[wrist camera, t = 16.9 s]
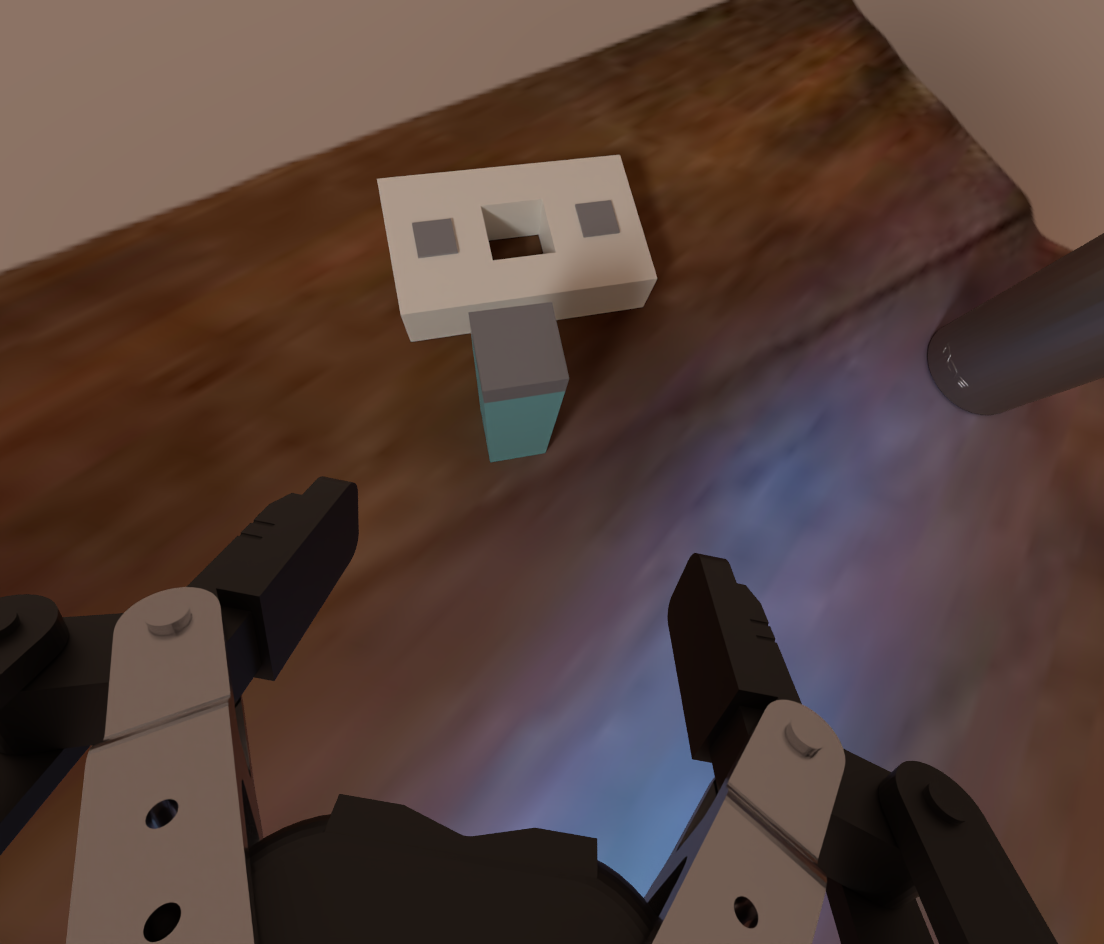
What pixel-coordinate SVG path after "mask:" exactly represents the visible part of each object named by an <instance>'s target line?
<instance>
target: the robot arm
mask: <svg viewBox="0 0 1104 944" xmlns="http://www.w3.org/2000/svg"><path fill="white" fill-rule="evenodd" d="M928 366H929V369H930V372H931V375H932V377H933V379H934V381H935V383H936V385H937V386H938V388H939V389H940V390H941V392H942V393H943V394H944V395H945V396H946V397H947V398H948V399H949V400H950V401H951V402H953V403H954V404H956V405H957V406H959V407H960V408H962V409H964V410H966V411H969V412H971V413H975V414H980V415H994V414H998V413H1002V412H1005V411H1008V410H1011V409H1013V408H1016V407H1019V406H1022V405H1025V404H1028V403H1031V402H1034V401H1037V400H1039V399H1042V398H1045V397H1049V396H1052V395H1054V394H1057V393H1060V392H1063V391H1066V390H1069V389H1072V388H1075V387H1077V386H1080V385H1083V384H1086V383H1089V382H1092V381H1095V380H1098V379H1100V378H1103V377H1104V233H1103V234H1102V235H1100V236H1098V237H1096V238H1095V239H1093V240H1091V241H1089V242H1088V243H1086V244H1084V245H1083V246H1081V247H1079V248H1077V249H1076V250H1074V251H1072V252H1071V253H1069V254H1067V255H1066V256H1064V257H1062V258H1060V259H1059V260H1057V261H1055V262H1054V263H1052V264H1050V265H1048V266H1047V267H1045V268H1043V269H1042V270H1040V271H1038V272H1036V273H1035V274H1033V275H1031V276H1030V277H1028V278H1026V279H1024V280H1023V281H1021V282H1019V283H1018V284H1016V285H1014V286H1012V287H1011V288H1009V289H1007V290H1006V291H1004V292H1002V293H1000V294H999V295H997V296H995V297H994V298H992V299H990V300H988V301H987V302H985V303H983V304H981V305H980V306H978V307H976V308H974V309H973V310H971V311H969V312H968V313H966V314H964V315H963V316H961V317H959V318H957V319H956V320H954V321H952V322H951V323H949V324H947V325H945V326H944V327H942V328H941V329H940V330H939V331H937V332H936V334H935V335H934V336H933V338H932V339H931V342H930V344H929V348H928ZM358 534H359V530H358V489H357V485H356V484H355V483H353V482H348V481H343V480H338V479H333V478H328V477H323V476H322V477H319V478H318V479H317V480H316V481H315V482H314V483H313V484H312V485H311V486H310V487H309V488H308V489H307V490H306V491H305V492H304V494H303V495H300V494H295V493H291V494H289V495H287V496H285V497H283V498H281V499H279V500H277V501H275V502H273V503H271V504H269V505H268V506H267V507H266V508H265V509H264V510H263V511H262V512H261V513H260V514H259V515H258V516H257V517H256V518H255V519H254V522H253V523H250V524H249V525H248V526H247V527H246V528H245V529H244V530H243V531H242V532H241V535H240V536H237V537H236V538H235V539H234V540H233V541H232V542H231V543H230V544H229V545H228V546H227V547H226V548H225V549H224V550H223V551H222V552H221V553H220V554H219V555H218V556H217V557H216V558H215V559H214V560H213V561H212V562H211V563H210V564H209V565H208V566H207V567H206V568H205V569H204V570H203V571H202V572H201V573H200V574H199V575H198V576H197V577H196V578H195V579H194V580H193V581H192V582H191V583H190V584H189V585H188V586H187V587H181V588H174V589H168V590H165V591H161V592H158V593H155V594H153V595H150V596H148V597H146V598H144V599H142V600H141V601H139V602H137V603H136V604H134V605H133V606H132V607H130V608H129V609H128V610H127V611H126V612H125V613H120V614H106V615H92V616H77V617H62V616H61V614H60V612H59V610H58V608H57V606H56V604H55V603H54V602H53V601H52V600H50V599H48V598H46V597H43V596H39V595H29V594H25V595H12V596H6V597H1V598H0V855H1V854H2V852H3V851H4V850H5V849H6V848H7V846H8V845H9V844H10V843H11V842H12V840H13V839H14V838H15V837H16V835H17V834H18V833H19V832H20V831H21V829H22V828H23V827H24V826H25V824H26V823H27V822H28V821H29V820H30V818H31V817H32V816H33V815H34V813H35V812H36V811H37V810H38V809H39V807H40V806H41V805H42V804H43V802H44V801H45V800H46V799H47V798H48V796H49V795H50V794H51V793H52V792H53V790H54V789H55V788H56V787H57V785H58V784H59V783H60V782H61V781H62V779H63V778H64V777H65V776H66V774H67V773H68V772H69V771H70V770H71V768H72V767H73V766H74V765H75V763H76V762H77V761H78V760H79V759H80V757H81V756H82V755H83V754H84V752H85V751H86V750H87V749H88V748H89V746H90V745H92V747H91V748H90V750H89V753H88V756H87V760H86V766H85V774H84V783H83V793H82V802H81V811H80V820H79V829H78V839H77V848H76V857H75V866H74V875H73V885H72V894H71V903H70V912H69V921H68V930H67V940H66V944H812V941H813V937H814V934H815V930H816V926H817V922H818V918H819V915H820V911H821V907H822V903H823V899H824V895H825V891H826V893H827V896H828V900H829V903H830V907H831V910H832V914H833V917H834V920H835V924H836V927H837V931H838V934H839V938H840V941H841V944H934V942H933V940H932V938H931V935H930V933H929V930H928V928H927V926H926V923H925V921H924V918H923V916H922V913H921V911H920V909H919V906H918V904H917V901H916V899H915V898H917V897H920V899H921V901H922V904H923V906H924V909H925V911H926V913H927V916H928V918H929V920H930V923H931V925H932V928H933V930H934V932H935V935H936V937H937V939H938V942H939V944H1058V943H1057V941H1056V939H1055V938H1054V936H1053V934H1052V932H1051V931H1050V929H1049V927H1048V926H1047V924H1046V922H1045V920H1044V919H1043V917H1042V915H1041V913H1040V912H1039V910H1038V908H1037V907H1036V905H1035V903H1034V901H1033V900H1032V898H1031V896H1030V894H1029V893H1028V891H1027V889H1026V888H1025V886H1024V884H1023V882H1022V881H1021V879H1020V877H1019V875H1018V874H1017V872H1016V870H1015V869H1014V867H1013V865H1012V863H1011V862H1010V860H1009V858H1008V856H1007V855H1006V853H1005V851H1004V850H1003V848H1002V846H1001V844H1000V843H999V841H998V839H997V837H996V836H995V834H994V832H993V831H992V829H991V827H990V825H989V824H988V822H987V820H986V818H985V817H984V815H983V813H982V812H981V810H980V809H979V807H978V806H977V805H976V803H975V802H974V801H973V799H972V798H971V797H970V796H969V795H968V794H967V793H966V792H965V791H964V790H963V789H962V788H961V787H960V786H959V785H958V784H957V783H956V782H955V781H953V780H952V779H951V778H950V777H948V776H947V775H945V774H944V773H943V772H941V771H939V770H938V769H936V768H934V767H932V766H930V765H927V764H925V763H922V762H917V761H906V762H903V763H902V764H900V765H899V766H898V767H897V768H896V769H895V770H894V771H892V772H890V771H887V770H885V769H883V768H881V767H879V766H877V765H875V764H873V763H871V762H869V761H867V760H865V759H863V758H861V757H859V756H857V755H855V754H853V753H851V752H849V751H847V750H845V749H843V747H842V745H841V742H840V741H839V739H838V737H837V735H836V734H835V732H834V731H833V730H832V728H831V727H830V726H829V725H828V724H827V723H826V722H825V721H824V720H823V719H822V718H821V717H820V716H819V715H818V714H816V713H815V712H814V711H812V710H811V709H809V708H808V707H806V706H804V705H802V703H801V701H800V698H799V696H798V694H797V691H796V689H795V686H794V684H793V681H792V679H791V676H790V674H789V672H788V669H787V667H786V664H785V662H784V659H783V657H782V654H781V652H780V649H779V647H778V645H777V643H775V637H774V635H773V632H772V630H771V627H770V626H768V623H769V622H768V620H767V618H766V615H765V613H764V610H763V608H762V605H761V603H760V602H759V601H758V600H757V598H756V597H755V596H754V595H753V594H752V592H751V591H750V590H749V589H748V588H747V586H746V585H743V584H738V583H736V580H735V577H734V575H733V572H732V569H731V566H730V564H729V562H728V561H727V560H726V559H723V558H718V557H713V556H708V555H703V554H698V553H694V554H692V555H691V557H690V558H689V560H688V562H687V565H686V567H685V569H684V571H683V573H682V575H681V577H680V579H679V582H678V584H677V586H676V588H675V590H674V592H673V594H672V597H671V599H670V603H669V608H668V626H669V632H670V637H671V643H672V649H673V654H674V660H675V665H676V671H677V677H678V682H679V688H680V693H681V699H682V705H683V710H684V716H685V722H686V727H687V733H688V738H689V744H690V750H691V755H692V759H694V760H699V761H705V762H710V763H712V765H713V770H714V775H715V777H714V778H713V780H712V781H711V783H710V784H709V786H708V788H707V789H706V791H705V793H704V795H703V797H702V799H701V800H700V802H699V804H698V806H697V808H696V810H695V811H694V813H693V815H692V817H691V819H690V820H689V822H688V824H687V826H686V828H685V830H684V831H683V833H682V835H681V837H680V839H679V841H678V842H677V844H676V846H675V848H674V850H673V851H672V853H671V855H670V857H669V859H668V860H667V862H666V864H665V865H664V867H663V868H662V870H661V872H660V873H659V875H658V876H657V878H656V879H655V881H654V882H653V884H652V885H651V887H650V889H649V890H648V892H647V894H646V895H645V897H644V898H643V897H642V896H641V895H640V894H639V893H638V891H637V890H636V889H635V888H634V887H633V886H632V885H631V884H630V883H629V882H628V881H626V880H625V879H624V878H623V877H622V876H621V875H620V874H618V873H617V872H616V871H614V870H613V869H611V868H610V867H608V866H607V865H606V864H604V863H602V862H600V861H598V860H597V838H591V837H585V836H580V835H574V834H568V833H562V832H557V831H551V830H545V829H539V828H530V829H522V830H515V831H508V832H501V833H494V834H486V835H479V836H463V835H461V834H459V833H457V832H455V831H453V830H451V829H449V828H447V827H445V826H443V825H441V824H439V823H437V822H435V821H434V820H432V819H430V818H428V817H426V816H424V815H422V814H420V813H418V812H416V811H414V810H412V809H410V808H409V807H407V806H405V805H401V804H395V803H389V802H383V801H378V800H372V799H366V798H360V797H354V796H349V795H343V794H339V796H338V799H337V801H336V803H335V806H334V808H333V811H332V813H331V814H329V815H322V816H318V817H314V818H310V819H306V820H302V821H300V822H297V823H295V824H292V825H290V826H287V827H284V828H282V829H280V830H278V831H277V832H275V833H273V834H271V835H269V836H267V837H265V838H263V832H262V826H261V820H260V814H259V809H258V804H257V799H256V793H255V786H254V779H253V772H252V764H251V757H250V750H249V742H248V735H247V727H246V720H245V712H244V705H243V699H242V693H243V692H244V691H245V689H246V688H247V686H248V685H249V683H250V682H251V680H252V679H253V677H255V678H261V679H266V680H272V681H275V679H276V677H277V676H278V674H279V673H280V671H281V670H282V668H283V666H284V665H285V663H286V662H287V660H288V659H289V657H290V655H291V654H292V652H293V651H294V649H295V648H296V646H297V644H298V643H299V641H300V640H301V638H302V637H303V635H304V633H305V632H306V630H307V629H308V627H309V626H310V624H311V622H312V621H313V619H314V618H315V616H316V615H317V613H318V611H319V610H320V608H321V607H322V605H323V604H324V602H325V600H326V599H327V597H328V596H329V594H330V593H331V591H332V589H333V588H334V586H335V585H336V583H337V581H338V580H339V578H340V577H341V575H342V574H343V572H344V570H345V569H346V567H347V566H348V564H349V563H350V561H351V559H352V557H353V555H354V553H355V550H356V546H357V542H358Z"/></svg>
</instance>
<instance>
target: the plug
mask: <svg viewBox="0 0 1104 944" xmlns="http://www.w3.org/2000/svg"><path fill="white" fill-rule="evenodd" d="M468 314H469V321H470V329H471V337H472V345H473V353H474V361H475V369H476V376H477V384H478V392H479V400H480V408H481V414H482V419H483V425H484V431H485V436H486V442H487V447H488V453H489V458H490V462H495V461H501V460H507V459H513V458H519V457H524V456H530V455H536V454H542V453H546V450H547V447H548V443H549V440H550V437H551V434H552V431H553V428H554V425H555V422H556V418H557V415H558V412H559V409H560V406H561V403H562V400H563V397H564V393H565V390H566V387H567V384H568V381H569V375H568V371H567V366H566V362H565V358H564V353H563V349H562V344H561V340H560V335H559V331H558V326H557V322H556V317H555V313H554V309H553V304H552V302H547V303H539V304H531V305H523V306H515V307H507V308H499V309H491V310H483V311H475V312H468Z"/></svg>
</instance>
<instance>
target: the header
mask: <svg viewBox="0 0 1104 944" xmlns="http://www.w3.org/2000/svg"><path fill="white" fill-rule="evenodd" d="M377 182H378V187H379V193H380V199H381V204H382V210H383V216H384V222H385V227H386V233H387V239H388V245H389V250H390V256H391V262H392V268H393V273H394V279H395V285H396V291H397V296H398V302H399V308H400V314H401V317H402V320H403V322H404V325H405V327H406V330H407V333H408V335H409V338H410V341H411V342H414V341H420V340H427V339H434V338H440V337H447V336H454V335H460V334H467V333H471V329H470V321H469V314H468V312H475V311H483V310H491V309H499V308H507V307H515V306H523V305H531V304H539V303H547V302H552V304H553V309H554V313H555V317H556V320H561V319H567V318H574V317H581V316H587V315H594V314H601V313H607V312H614V311H621V310H627V309H634V308H641V307H643V306H644V304H645V302H646V300H647V298H648V296H649V294H650V292H651V290H652V288H653V286H654V284H655V282H656V280H657V276H656V272H655V269H654V266H653V262H652V259H651V256H650V253H649V249H648V246H647V243H646V239H645V236H644V233H643V229H642V226H641V223H640V220H639V216H638V213H637V210H636V206H635V203H634V200H633V197H632V193H631V190H630V187H629V183H628V180H627V177H626V174H625V170H624V167H623V164H622V160H621V157H620V155H612V156H602V157H592V158H582V159H572V160H562V161H552V162H542V163H532V164H521V165H511V166H501V167H491V168H481V169H471V170H461V171H451V172H441V173H431V174H421V175H411V176H401V177H391V178H381V179H377ZM538 234H539V238H540V242H541V246H542V250H543V254H539V255H532V256H524V257H516V258H508V259H501V260H493V259H492V254H491V250H490V245H489V240H497V239H505V238H514V237H522V236H530V235H538Z"/></svg>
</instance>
